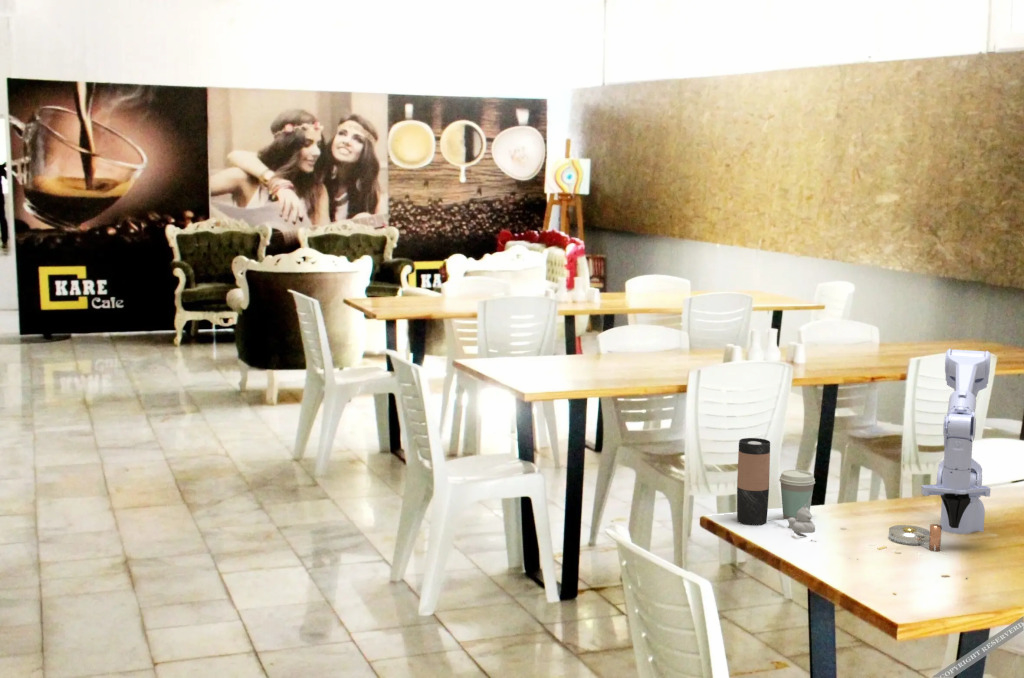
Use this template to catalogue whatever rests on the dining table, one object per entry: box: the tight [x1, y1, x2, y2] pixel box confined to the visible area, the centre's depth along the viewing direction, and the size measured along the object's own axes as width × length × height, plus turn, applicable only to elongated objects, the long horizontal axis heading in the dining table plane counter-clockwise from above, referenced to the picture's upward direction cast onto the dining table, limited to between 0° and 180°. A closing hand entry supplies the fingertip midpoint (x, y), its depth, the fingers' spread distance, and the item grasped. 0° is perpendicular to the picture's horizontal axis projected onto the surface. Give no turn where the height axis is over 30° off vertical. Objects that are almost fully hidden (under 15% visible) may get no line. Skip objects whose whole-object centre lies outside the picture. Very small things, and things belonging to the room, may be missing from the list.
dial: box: [888, 523, 942, 552], centre depth 267 cm, size 14×9×6 cm, turn 23°
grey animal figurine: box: [787, 504, 816, 538], centre depth 276 cm, size 5×7×8 cm
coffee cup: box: [778, 469, 816, 520], centre depth 287 cm, size 8×9×12 cm
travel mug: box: [736, 437, 771, 526], centre depth 287 cm, size 8×8×20 cm
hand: (953, 526), depth 263 cm, fingers closed
